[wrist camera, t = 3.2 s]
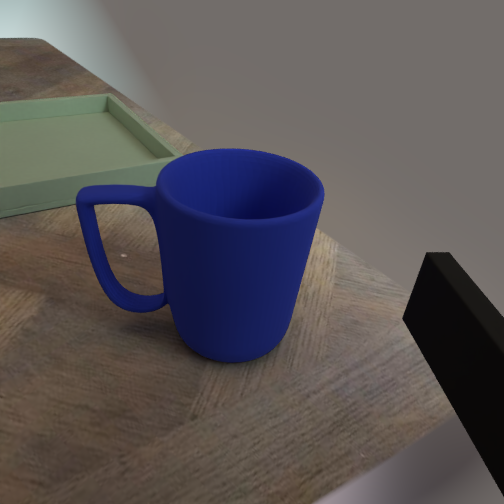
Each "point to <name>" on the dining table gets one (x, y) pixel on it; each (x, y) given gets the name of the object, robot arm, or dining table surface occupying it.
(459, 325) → the robot arm
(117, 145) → the tray
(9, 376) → the dining table surface
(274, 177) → the mug
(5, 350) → the dining table surface
